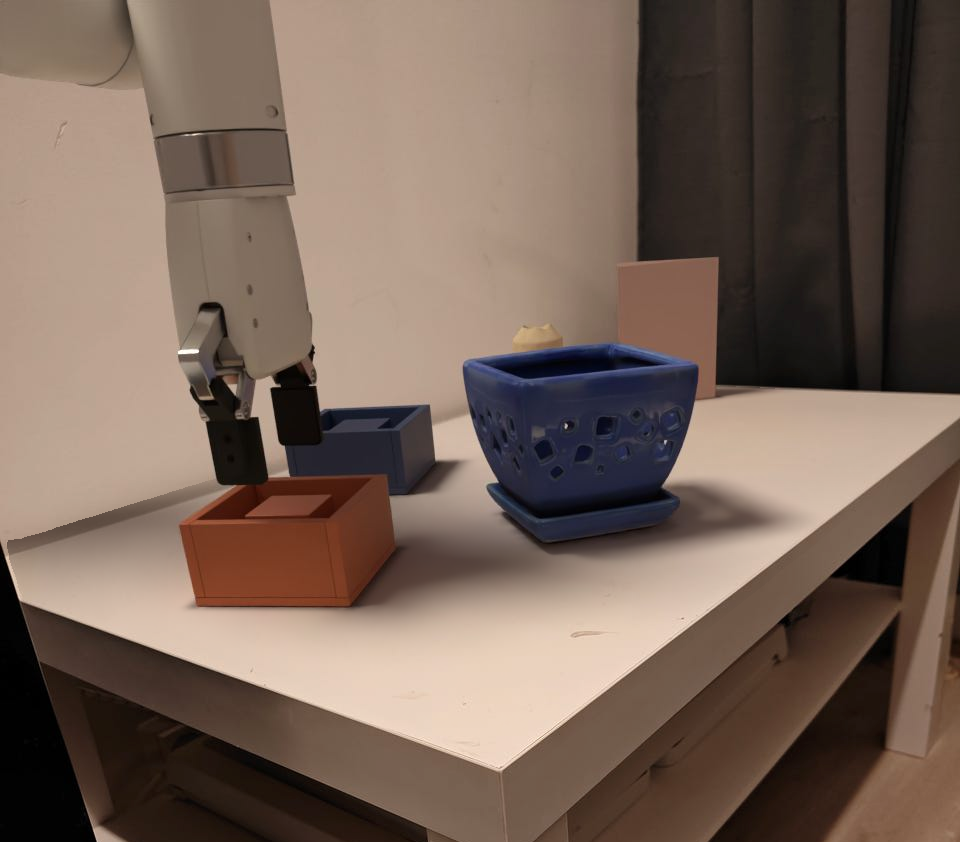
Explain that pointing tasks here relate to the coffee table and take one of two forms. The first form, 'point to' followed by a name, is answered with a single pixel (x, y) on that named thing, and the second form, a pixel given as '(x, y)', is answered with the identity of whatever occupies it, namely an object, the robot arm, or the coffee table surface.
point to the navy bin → (370, 447)
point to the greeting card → (672, 311)
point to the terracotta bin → (290, 544)
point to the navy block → (363, 424)
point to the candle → (536, 339)
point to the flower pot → (582, 435)
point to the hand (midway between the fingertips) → (274, 462)
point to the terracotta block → (294, 507)
